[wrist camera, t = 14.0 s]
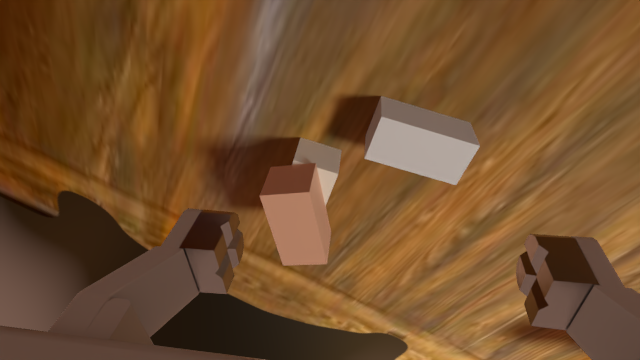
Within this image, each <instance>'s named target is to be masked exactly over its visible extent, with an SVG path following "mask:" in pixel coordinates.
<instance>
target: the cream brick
mask: <svg viewBox="0 0 640 360" xmlns="http://www.w3.org/2000/svg"><path fill="white" fill-rule="evenodd" d="M340 158H341V150H339V149H336V148H333V147H329V146H326V145H323V144H320V143H317V142H314V141H310V140H307V139H304V138H301V137H300V141H299V144H298V147H297V150H296V153H295V157H294V160H293V163H292V165H298V164H310V163H316V165H317V170H318V175H319V179H320V184H321V188H322V193H323V197H324V202H325V206H326V203H327V201H328V198H329V196H330V193H331V191H332V189H333V186H334V184H335V181H336V179H337V176H338V173H339V165H340Z"/></svg>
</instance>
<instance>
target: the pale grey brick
mask: <svg viewBox="0 0 640 360" xmlns="http://www.w3.org/2000/svg"><path fill="white" fill-rule="evenodd" d="M479 147H480V145H479V142H478V140H477V138H476V135H475V133H474V131H473V128H472V126H471V123H470V122H466V121H463V120H460V119H456V118H453V117H450V116H446V115H443V114H440V113H436V112H433V111H430V110H426V109H423V108H420V107H417V106H413V105H410V104H407V103H403V102H400V101H397V100H393V99H390V98H387V97H383V96H381V97H380V100H379V102H378V105H377V107H376V110H375V112H374V115H373V118H372V120H371V123H370V125H369V128H368V130H367V133H366V136H365V158H364V159H368V160H371V161H375V162H378V163H382V164H385V165H389V166H392V167H395V168H399V169H402V170H406V171H409V172H413V173H416V174H419V175H423V176H426V177H430V178H433V179H437V180H440V181H444V182H447V183H450V184H454V185H456V184H457V183H458V181H459V179H460V178H461V176H462V174H463V173H464V171H465V170H466V168H467V166H468V165H469V163H470V161H471V160H472V158H473V157H474V155H475V153H476V152H477V150H478V148H479Z"/></svg>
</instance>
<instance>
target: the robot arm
mask: <svg viewBox="0 0 640 360" xmlns="http://www.w3.org/2000/svg"><path fill="white" fill-rule="evenodd" d="M239 224H240V221H239V217H238V214H236V213H234V212H223V211H213V210H199V209H189V208H188V209H187V210H185V211H184V212H183V214H182V215H181V217H180V218H179V220H178V221H177V223H176V224H175V226H174V227H173V229H172V230H171V232H170V233H169V235H168V236H167V238H166V239H165V241H164V243H163V244H162V246H161V247H154V248H153V249H151V250H149V251H148V252H146V253H144V254H143V255H141V256H139V257H138V258H136V259H134V260H133V261H131V262H129V263H127V264H126V265H124V266H122V267H121V268H119V269H117V270H116V271H114V272H112V273H110V274H109V275H107V276H105V277H104V278H102V279H100V280H99V281H97V282H96V283H94V284H92V285H90V286H89V287H87V288H85V289H84V290H82V291H80V292H78V294H77V295H76V296H75V298H74V299H73V300H72V302H71V303H70V304H69V305H68V306H67V308H66V309H65V310H64V312H63V313H62V314H61V315H60V317H59V318H58V319H57V321H56V322H55V323H54V324H53V326H52V327H51V328H50V330H49V331H48V332H46V331H38V330H30V329H22V328H14V327H6V326H0V360H264V359H256V358H248V357H240V356H232V355H225V354H217V353H209V352H201V351H194V350H186V349H178V348H170V347H162V346H155V345H153V343H152V342H151V339H150V337H151V336H152V335H153V334H154V333H155V332H156V331H157V330H159V328H161V327H162V326H163V325H164V324H165V323H166V322H167V321H169V319H171V318H172V317H173V316H174V315H175V314H176V313H178V312H179V311H180V310H181V309H182V308H183V307H184V306H186V305H187V304H188V303H189V302H190V301H191V300H192V299H193V298H194V297H196V296H197V295H198V294H199V292H207V293H220V294H227V292H228V290H229V287H230V285H231V283H232V280H233V278H234V272H233V268H234V267H236V266H237V265H238V264H239V263H240V261H241V258H242V254H243V249H244V239H243V234H242V233H241V232H240V231H239V230H238V229H237V228H238V226H239ZM524 245H525V248H526V250H527V251H526V252H525V253H523V254H522V255H520V257H519V259H518V262H517V269H516V277H517V283H518V286H519V290H520V291H521V292H523V293H524V294H525V295H526V296H527V298H526V301H525V303H524V305H525V308H526V311H527V314H528V318H529V321H530V324H531V326H536V327H544V328H552V329H560V330H567V331H566V332H567V333H568V334H569V336H570V337H571V338H572V339H573V340H574V341H575V342H576V343H577V344H578V345H579V346H580V347H581V348H582V349H583V351H584V352H585V353H586V354H587V355H588V356H589V357H590V358H591V359H592V360H640V294H639V293H637V292H636V291H634V290H633V289H631V288H625V287H624V285H623V284H622V282H621V280H620V279H619V277H618V275H617V273H616V272H615V270H614V268H613V267H612V265H611V263H610V262H609V260H608V258H607V257H606V255H605V253H604V252H603V250H602V248H601V247H600V245H599V243H598V242H597V240H595V239H594V238H589V237H573V236H572V237H569V236H554V235H539V234H530V235H529V236H528V237H527V239H526V241H525V244H524Z"/></svg>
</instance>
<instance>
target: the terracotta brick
mask: <svg viewBox="0 0 640 360" xmlns="http://www.w3.org/2000/svg"><path fill="white" fill-rule="evenodd" d="M260 199H261V202H262V205H263V207H264V210H265V213H266V216H267V219H268V222H269V225H270V228H271V231H272V234H273V237H274V240H275V243H276V246H277V249H278V252H279V255H280V258H281V261H282V263H283V265H312V264H327V260H328V252H329V245H330V237H331V229H330V225H329V220H328V216H327V211H326V206H325V202H324V197H323V193H322V188H321V184H320V179H319V175H318V170H317V165H316V163H310V164H298V165H287V166H275V167H270V170H269V173H268V175H267V178H266V180H265V183H264V185H263V188H262V191H261V193H260Z"/></svg>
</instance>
